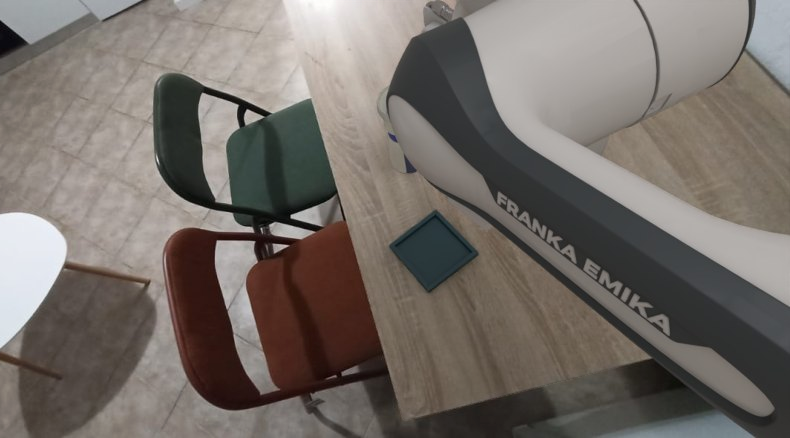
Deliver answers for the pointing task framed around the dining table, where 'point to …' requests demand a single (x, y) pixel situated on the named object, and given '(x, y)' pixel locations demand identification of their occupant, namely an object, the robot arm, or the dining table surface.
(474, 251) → the tray
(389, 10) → the dining table surface
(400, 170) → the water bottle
